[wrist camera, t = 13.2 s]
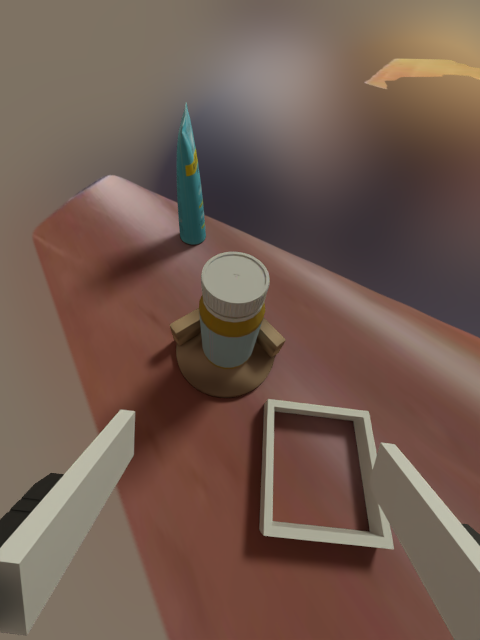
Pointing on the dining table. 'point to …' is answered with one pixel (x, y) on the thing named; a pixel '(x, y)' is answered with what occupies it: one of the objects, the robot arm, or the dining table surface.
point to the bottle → (232, 307)
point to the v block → (216, 378)
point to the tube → (189, 186)
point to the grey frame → (367, 457)
